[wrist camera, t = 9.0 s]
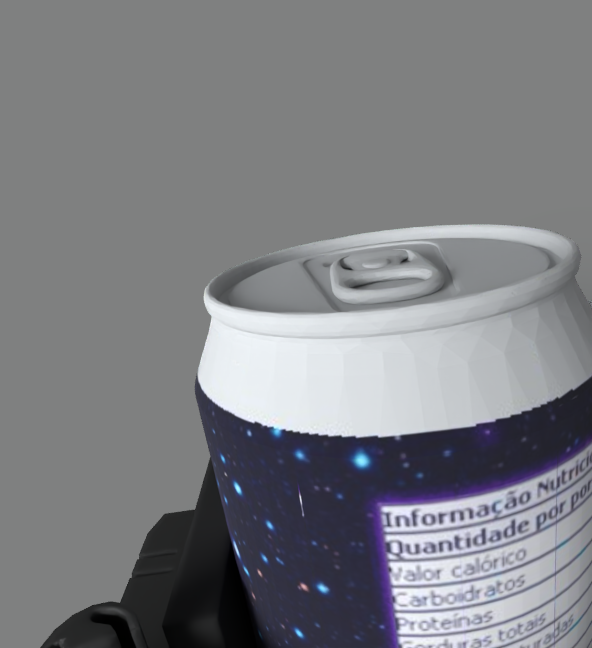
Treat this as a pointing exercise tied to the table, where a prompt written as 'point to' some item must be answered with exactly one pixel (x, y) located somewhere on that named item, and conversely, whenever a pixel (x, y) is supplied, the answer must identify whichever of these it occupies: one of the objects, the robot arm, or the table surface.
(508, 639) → the beverage can
